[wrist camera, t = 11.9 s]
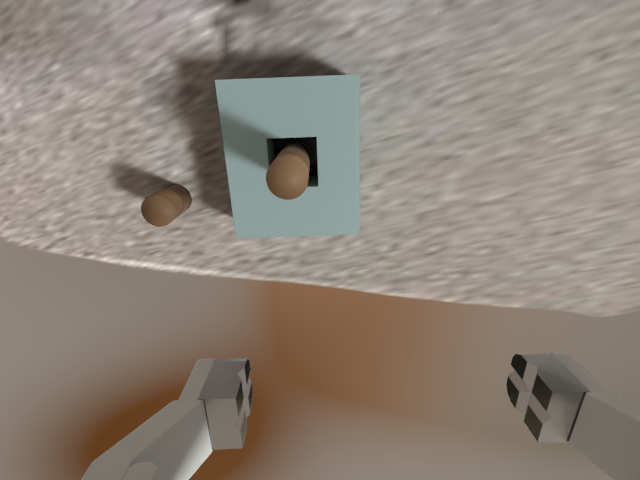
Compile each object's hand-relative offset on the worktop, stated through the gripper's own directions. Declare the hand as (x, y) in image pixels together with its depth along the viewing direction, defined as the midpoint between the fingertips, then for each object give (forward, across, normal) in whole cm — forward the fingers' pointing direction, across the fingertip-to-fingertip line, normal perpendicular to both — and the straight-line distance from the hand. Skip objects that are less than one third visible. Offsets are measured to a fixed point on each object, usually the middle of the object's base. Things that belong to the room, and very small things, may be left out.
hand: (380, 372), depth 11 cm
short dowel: (+28, +17, +1) cm, 32 cm away
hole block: (+28, +4, -3) cm, 28 cm away
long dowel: (+28, +4, -3) cm, 28 cm away
